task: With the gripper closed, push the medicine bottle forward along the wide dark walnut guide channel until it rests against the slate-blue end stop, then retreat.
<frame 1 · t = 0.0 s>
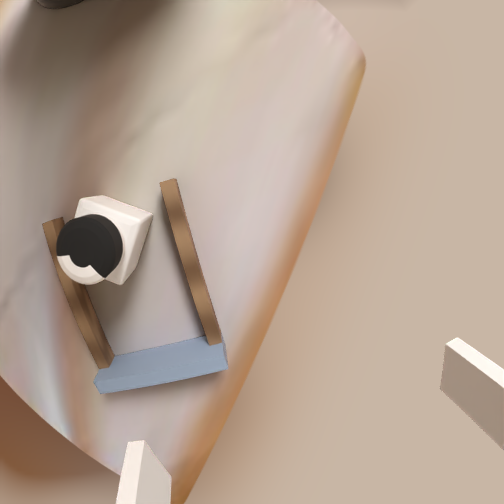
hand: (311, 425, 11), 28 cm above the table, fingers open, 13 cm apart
end stop: (162, 352, 39), on the table
guide channel: (133, 277, 36), on the table
medicine bottle: (118, 231, 35), on the table
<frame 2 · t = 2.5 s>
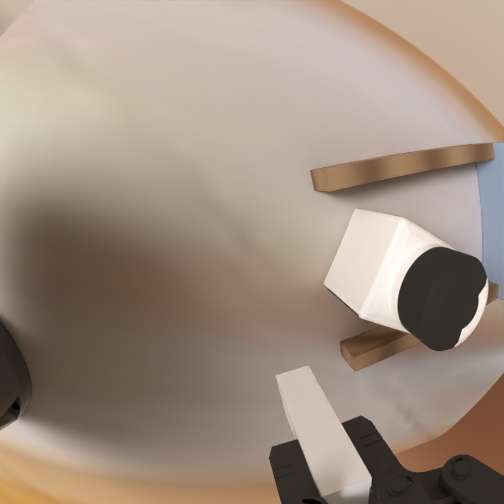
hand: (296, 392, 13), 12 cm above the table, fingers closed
end stop: (486, 218, 27), on the table
guide channel: (421, 242, 26), on the table
medicine bottle: (369, 259, 26), on the table
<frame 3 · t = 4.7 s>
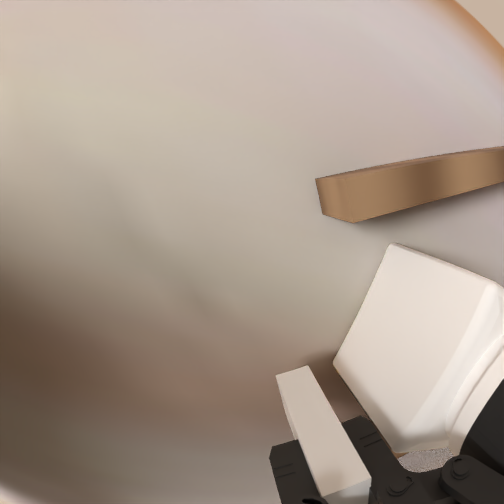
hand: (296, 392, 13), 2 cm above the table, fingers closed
guide channel: (474, 286, 16), on the table
medicine bottle: (403, 319, 16), on the table, touching gripper
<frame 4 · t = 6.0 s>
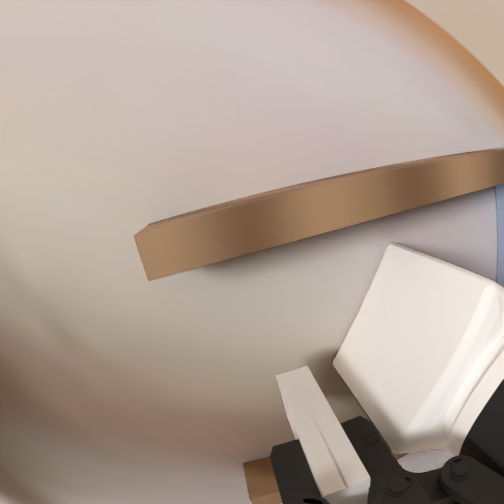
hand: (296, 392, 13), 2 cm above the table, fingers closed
guide channel: (387, 330, 15), on the table
medicine bottle: (404, 318, 16), on the table, touching gripper
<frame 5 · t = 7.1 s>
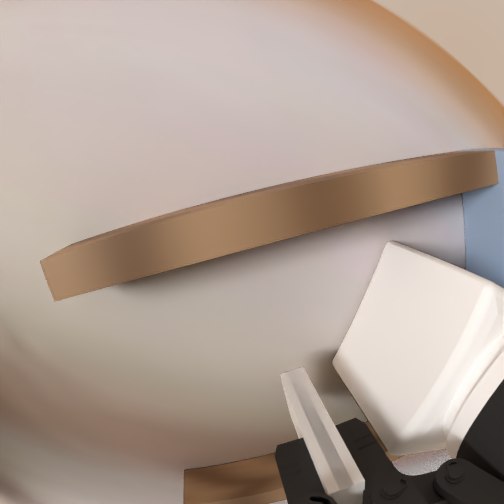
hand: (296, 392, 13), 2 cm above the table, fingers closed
end stop: (474, 288, 16), on the table
guide channel: (321, 352, 15), on the table
medicine bottle: (404, 317, 16), on the table, touching end stop, gripper, hand
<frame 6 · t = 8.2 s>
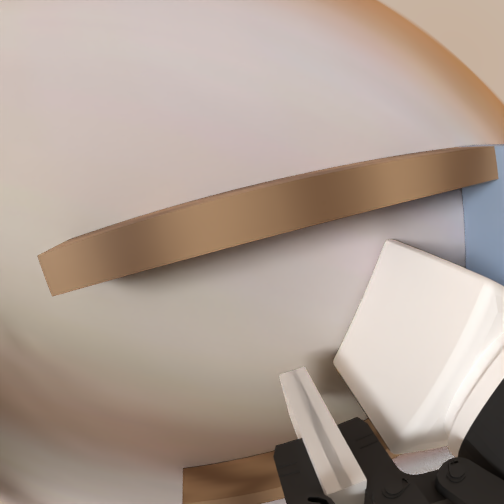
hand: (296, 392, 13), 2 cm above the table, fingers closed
end stop: (474, 284, 16), on the table
guide channel: (321, 349, 15), on the table
medicine bottle: (404, 314, 16), on the table, touching end stop, gripper, hand
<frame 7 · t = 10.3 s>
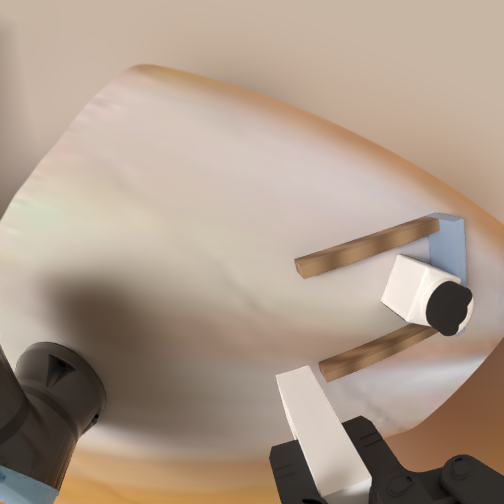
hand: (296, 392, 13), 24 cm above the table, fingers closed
end stop: (436, 270, 40), on the table
guide channel: (376, 295, 40), on the table
medicine bottle: (405, 282, 40), on the table
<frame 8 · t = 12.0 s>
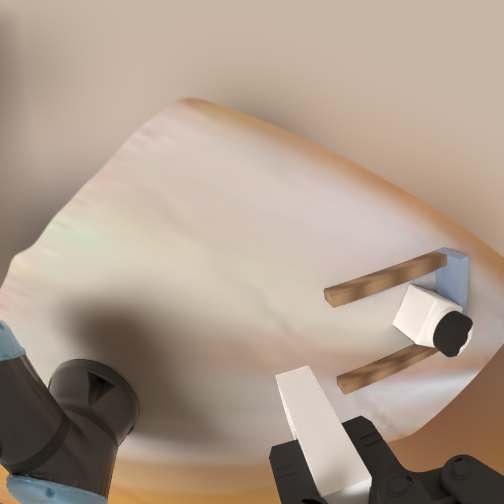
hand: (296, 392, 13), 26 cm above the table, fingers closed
end stop: (440, 297, 45), on the table
guide channel: (389, 319, 44), on the table
medicine bottle: (414, 308, 45), on the table
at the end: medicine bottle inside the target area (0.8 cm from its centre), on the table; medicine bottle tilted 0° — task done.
